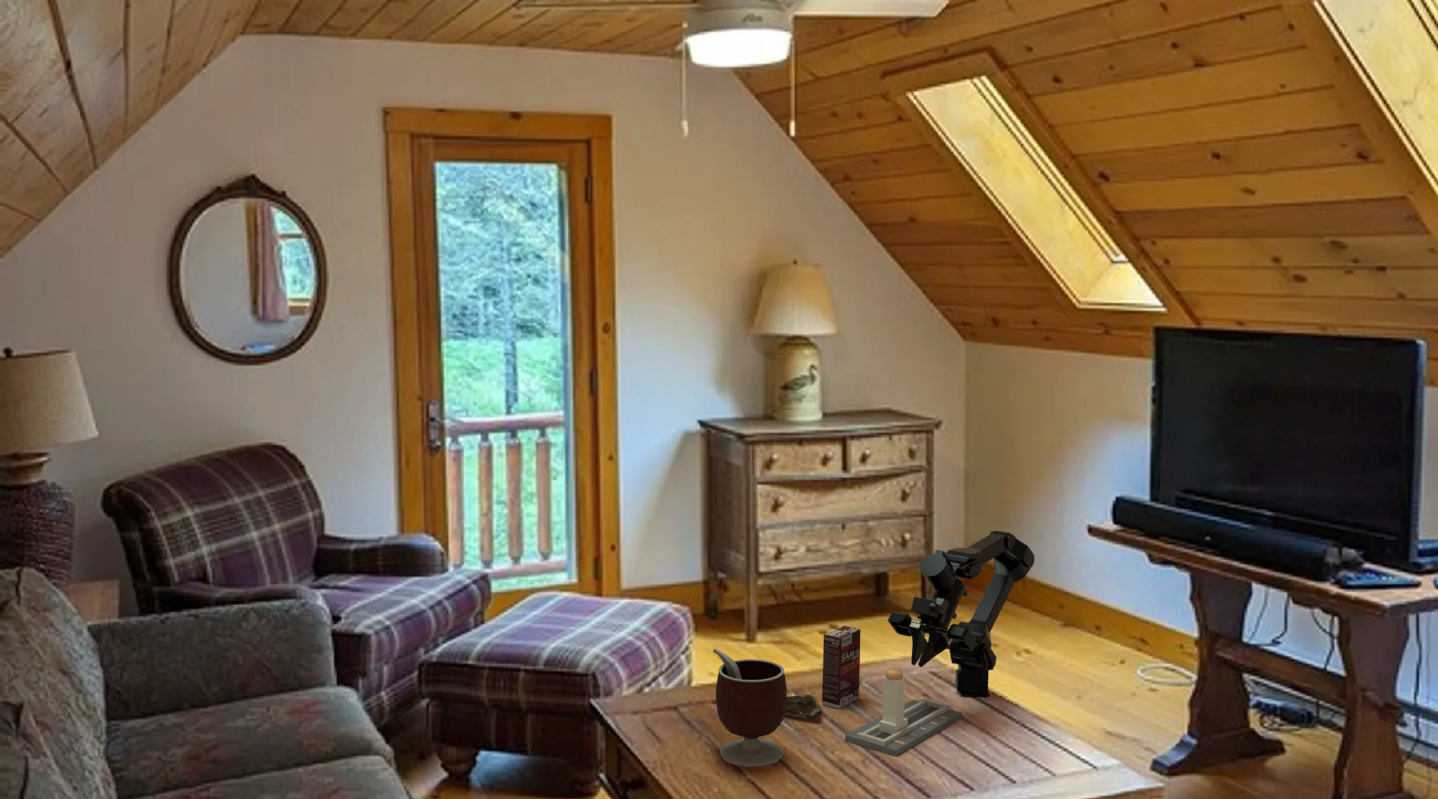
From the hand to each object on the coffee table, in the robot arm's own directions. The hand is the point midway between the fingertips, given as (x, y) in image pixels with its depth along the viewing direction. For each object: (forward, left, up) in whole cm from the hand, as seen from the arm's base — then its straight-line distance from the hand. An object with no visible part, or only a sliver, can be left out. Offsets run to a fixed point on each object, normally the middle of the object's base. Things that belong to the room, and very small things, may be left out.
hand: (916, 665), depth 259 cm
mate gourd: (+35, +15, -13) cm, 41 cm away
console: (+3, +3, -13) cm, 13 cm away
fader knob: (+5, +7, -11) cm, 14 cm away
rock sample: (+24, -5, -13) cm, 27 cm away
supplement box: (+14, -13, -13) cm, 23 cm away
